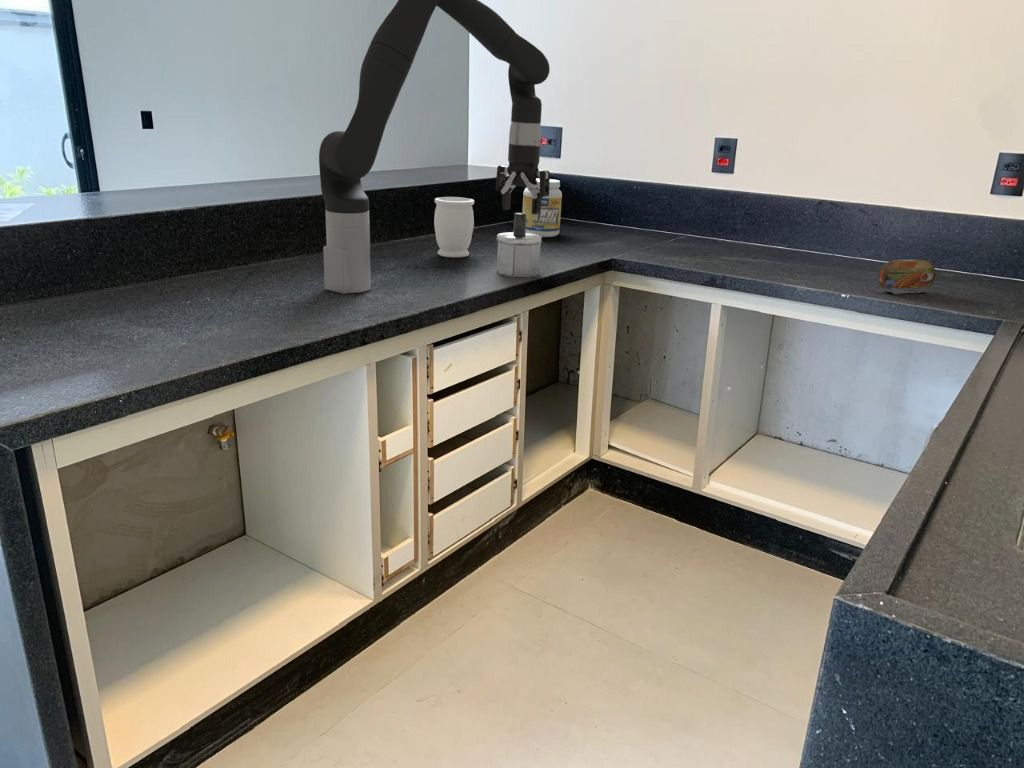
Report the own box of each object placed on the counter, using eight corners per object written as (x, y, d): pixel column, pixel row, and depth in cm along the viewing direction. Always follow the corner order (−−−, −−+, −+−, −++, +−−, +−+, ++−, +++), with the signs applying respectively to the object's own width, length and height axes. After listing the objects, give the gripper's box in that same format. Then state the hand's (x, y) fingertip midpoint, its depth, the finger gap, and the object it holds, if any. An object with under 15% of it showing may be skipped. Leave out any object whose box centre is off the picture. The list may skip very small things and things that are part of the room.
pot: (522, 279, 192) (524, 246, 189) (489, 272, 197) (491, 240, 194) (545, 273, 199) (547, 241, 197) (513, 266, 205) (514, 235, 202)
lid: (524, 247, 188) (526, 218, 186) (488, 240, 194) (488, 213, 192) (549, 241, 197) (551, 214, 194) (513, 235, 203) (514, 208, 200)
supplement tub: (533, 238, 244) (536, 182, 238) (514, 231, 254) (516, 177, 248) (566, 236, 250) (570, 182, 244) (546, 230, 260) (549, 177, 254)
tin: (881, 295, 194) (889, 261, 191) (873, 291, 197) (880, 258, 194) (932, 293, 198) (940, 260, 195) (922, 290, 201) (930, 257, 198)
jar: (475, 252, 220) (476, 197, 214) (469, 260, 210) (471, 202, 205) (437, 250, 221) (438, 195, 215) (430, 257, 211) (431, 200, 206)
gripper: (491, 140, 188) (488, 209, 194) (540, 145, 180) (536, 217, 186) (509, 140, 194) (506, 207, 199) (558, 144, 186) (553, 214, 192)
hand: (520, 211), depth 193 cm, fingers open, 8 cm apart
